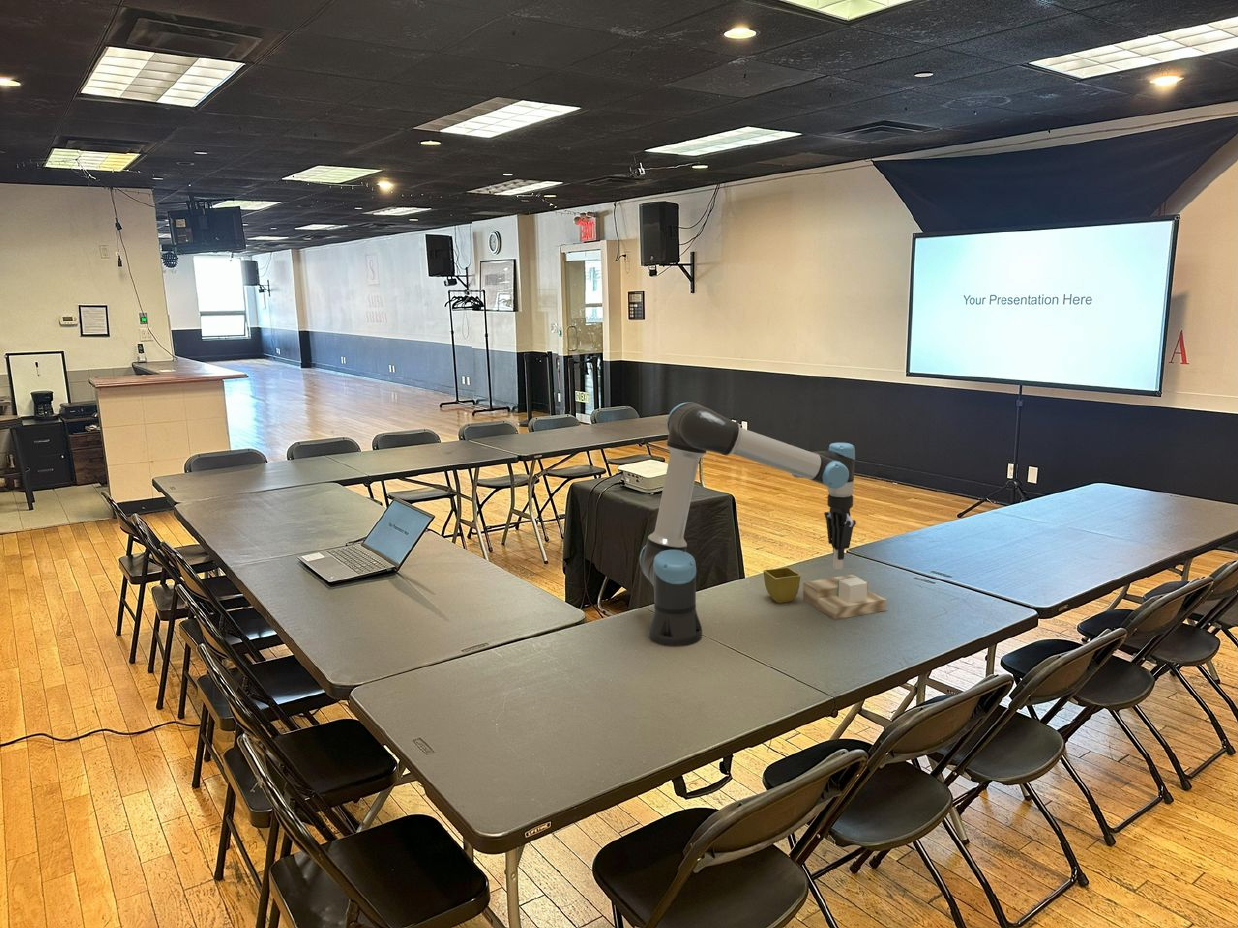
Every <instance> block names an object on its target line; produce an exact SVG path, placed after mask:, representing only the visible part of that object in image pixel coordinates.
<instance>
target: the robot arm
mask: <svg viewBox="0 0 1238 928" xmlns="http://www.w3.org/2000/svg"><path fill="white" fill-rule="evenodd" d="M666 421H667V422H666V424H667V425H666V428H667V430H668V437H667V442H666V447H667V449H668V451H669V453H670V454H669V458H668V463H667V469H666V473H665V478H664V482H663V488H662V492H661V498H660V502H659V507H658V512H657V516H656V522H655V527H654V528H655V529H654V531H653V532H652V533H650V534H649V535H648V536H647V540H646V545H644V546H643V548H642V549H641V551H640V555H639V565H640V568H641V571H642V574H643V575H644V576H645V578H646V579H648V581H649V582H650V584H651V586H653V601H654V602H653V603H654V607H653V612H652V615H651V619H650V621H649V625H648V627H647V628H648V629H647V632H648V636H647V637H648V638H649V639H650V640H651V641H652V642H653V643H655V644H657V645H662V646H668V647H669V646H670V647H684V646H690V645H694V644H695V643H697V642H699V641H700V640H702V638H703V628H702V627H703V626H702V624H701V620H700V618H699V614H698V612H697V580H696V578H697V577H696V576H697V566H696V560H695V558H694V556H693V555H692V554H690V553H689V552H687V551H686V550H687V546H688V543H687V542H686V540H685V539H684V536H685V530H686V525H687V520H688V516H689V512H690V506H691V501H692V495H693V492H694V486H695V482H696V477H697V473H698V468H699V463H700V460H701V458H703V457H704V456H705V455H706V454H707V451H708V452H713V453H716V454H718V455H719V454H720V455H723V456H727V457H728V456H730V455H731V454H732V455H734V456H737V457H741V458H744V459H747V460H749V461H753V462H756V463H757V464H762V465H764V466H768V467H771V468H774V469H775V470H776V469H777V470H779V471H782V472H785V473H788V474H791V476H792V477H793V478H795V479H796V478H797V479H806V480H808V481H812V482H814V483H818V484H821V485H823V486H825V487H827V493H828V494H827V503H826V504H827V507H829V510H828V511H827V512H826V511H825V512H824V518H825V523H826V532H827V539H828V540H827V541H828V544H829V545H830V546H831V548H832V569H834V570H842V569H844V559H845V550H847V549H850V547H851V542H852V541H851V540H852V537H853V531H854V527H855V525H856V523H857V522H856V520H855V519H852V518H851V511H850V510H851V508H853V506H854V495H853V494H854V481H855V461H856V450H855V446H854V445H853V444H851V443H848V442H833V443H830V444H829V447H828V450H825V451H824V450H823V451H809V450H806V449H803V448H800V447H797V446H795V445H792V444H788V443H786V442H783V441H781V440H777V439H774V438H771V437H769V436H766V435H763V434H760V433H758V432H754V431H751V430H749V429H746V428H743V427H741V426H740V423H739V422H737V421H733V420H731V419H729V418H727V417H726V416H723V415H721V414H719V413H717V412H716V411H714V410H712V409H711V408H708V407H705V406H703V405H701V404H699V403H695V402H683V403H680V404H678V405H676V406H674V407H673V409H672V410H671V411H670V412H669V414H668V416H667V420H666Z"/></svg>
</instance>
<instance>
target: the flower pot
mask: <svg viewBox="0 0 1238 928" xmlns="http://www.w3.org/2000/svg"><path fill="white" fill-rule="evenodd" d="M762 572H763V578H764V585H765V588H766V591H767V594H768V595H769V597H770V598H771V599H772V601H775V602H776V603H777V604H778V603H779V604H781V603H786V602H787V603H788V602H793V600H794V599H795V598H796V597H797V595H798V592H799V588H800V584H801V583H800V582H801V574H800V573H798V572H797V571H795V570H793V569H792V568H790V567H785V566H784V567H780V568H772V569H771V568H769V569H764V570H762Z"/></svg>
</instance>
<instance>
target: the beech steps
mask: <svg viewBox="0 0 1238 928" xmlns="http://www.w3.org/2000/svg"><path fill="white" fill-rule="evenodd" d="M851 577H856V578H858V579H860V580H862V581H864V582H866V583H867V599H866V601H861V602H855V603H848V602H846V601H844V600H842V599H841V598H839V597H838V579H845V578H851ZM868 588H869V582H868V581H866V580H864V579H862V578H860V577H858V576H856V575H854V574H848V575H841V576H835V577H828V578H827V577H826V578H823V579H817V580H816V579H815V580H808V581H803V589H802V590H803V591H802V593H803V595H802V601H803V602H805V603H807V604H808V605H810V606H812V607H814V608H816V609H817V610H819V611H820V612H822V613H823V614H825V615H826V616H828V617H830V618H832V619H833V620H840V619H846V618H851V617H856V616H857V617H858V616H864V615H869V614H875V613H881V612H887V598H884V597H882V596H880V595H878V594H876V593H874V592H872V591H870V590H869V589H868Z"/></svg>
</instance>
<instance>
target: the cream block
mask: <svg viewBox="0 0 1238 928" xmlns="http://www.w3.org/2000/svg"><path fill="white" fill-rule="evenodd" d="M856 577H857V576H856ZM856 577H851V578H845V579H838V597H839V598H841V599H842V600H844V601H846V602H848V603H855V602H861V601H866V599H867V583H866V582H867V581H866V582H864V581H865V580H864V581H862V580H863V579H862V580H860V579H861V578H860V579H858V578H859V577H858V578H856Z"/></svg>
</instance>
